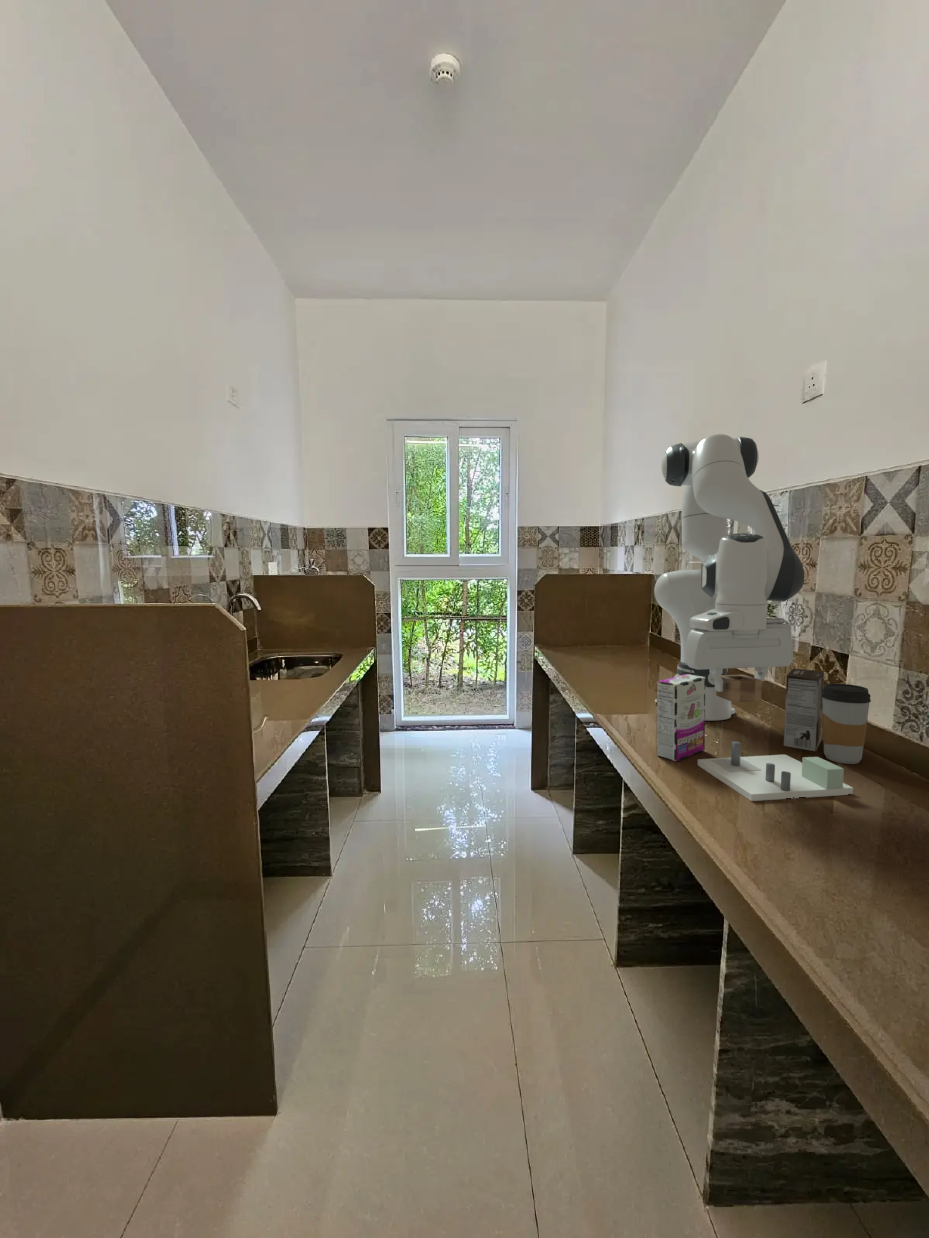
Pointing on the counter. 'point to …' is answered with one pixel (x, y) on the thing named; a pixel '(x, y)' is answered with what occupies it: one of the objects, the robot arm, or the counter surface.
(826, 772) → the block
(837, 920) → the counter surface
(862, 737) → the coffee cup
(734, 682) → the wooden square block
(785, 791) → the base plate
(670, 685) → the candy bar box
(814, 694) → the coffee box
